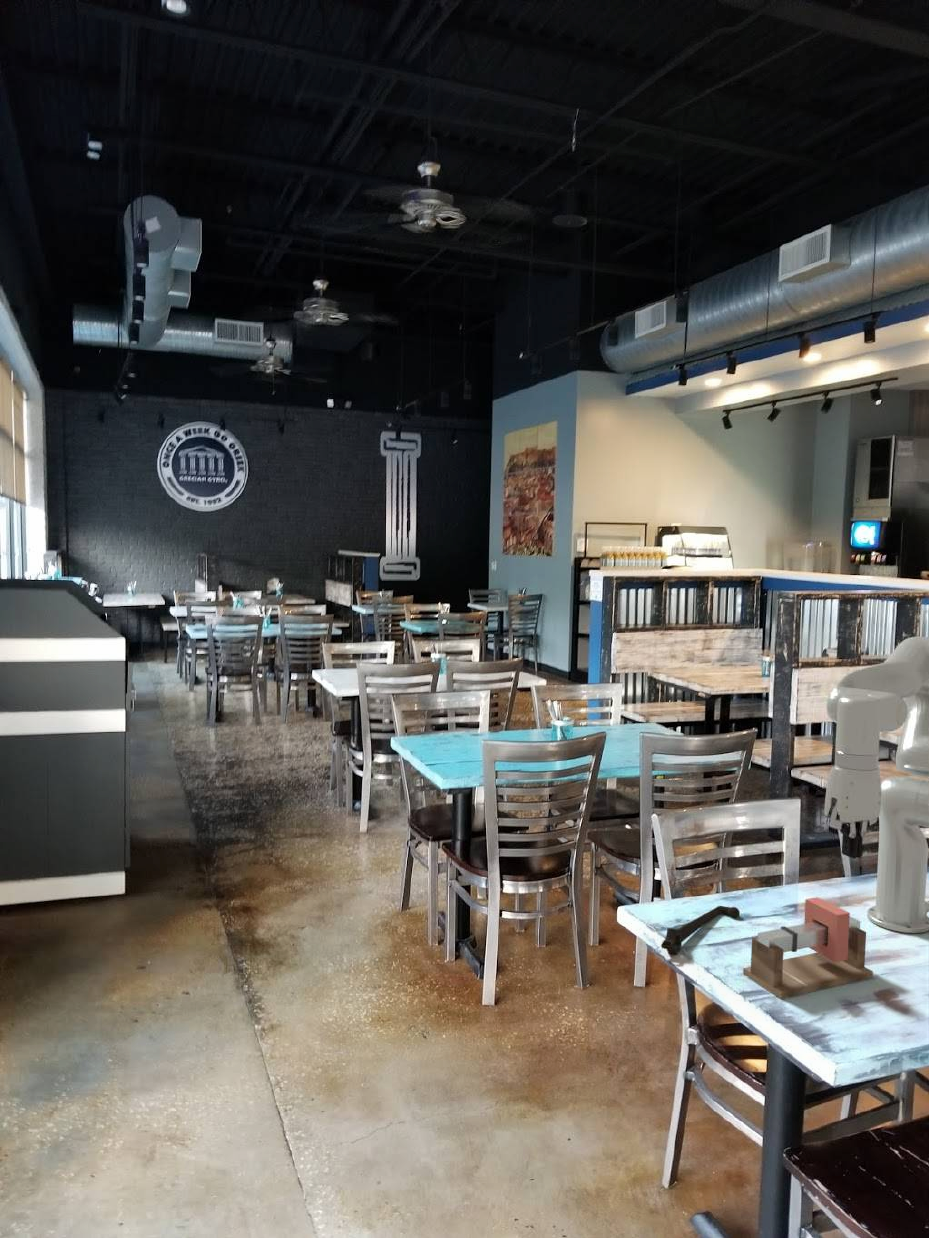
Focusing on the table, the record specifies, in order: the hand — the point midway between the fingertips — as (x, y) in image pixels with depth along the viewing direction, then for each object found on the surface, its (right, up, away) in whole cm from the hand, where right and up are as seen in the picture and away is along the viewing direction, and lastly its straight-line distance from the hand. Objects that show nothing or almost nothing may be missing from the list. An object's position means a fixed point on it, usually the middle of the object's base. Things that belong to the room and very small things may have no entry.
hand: (851, 855), depth 173 cm
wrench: (-24, -21, +15) cm, 36 cm away
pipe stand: (-9, -22, -2) cm, 24 cm away
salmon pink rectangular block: (-5, -18, -1) cm, 19 cm away
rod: (-9, -16, -2) cm, 18 cm away
